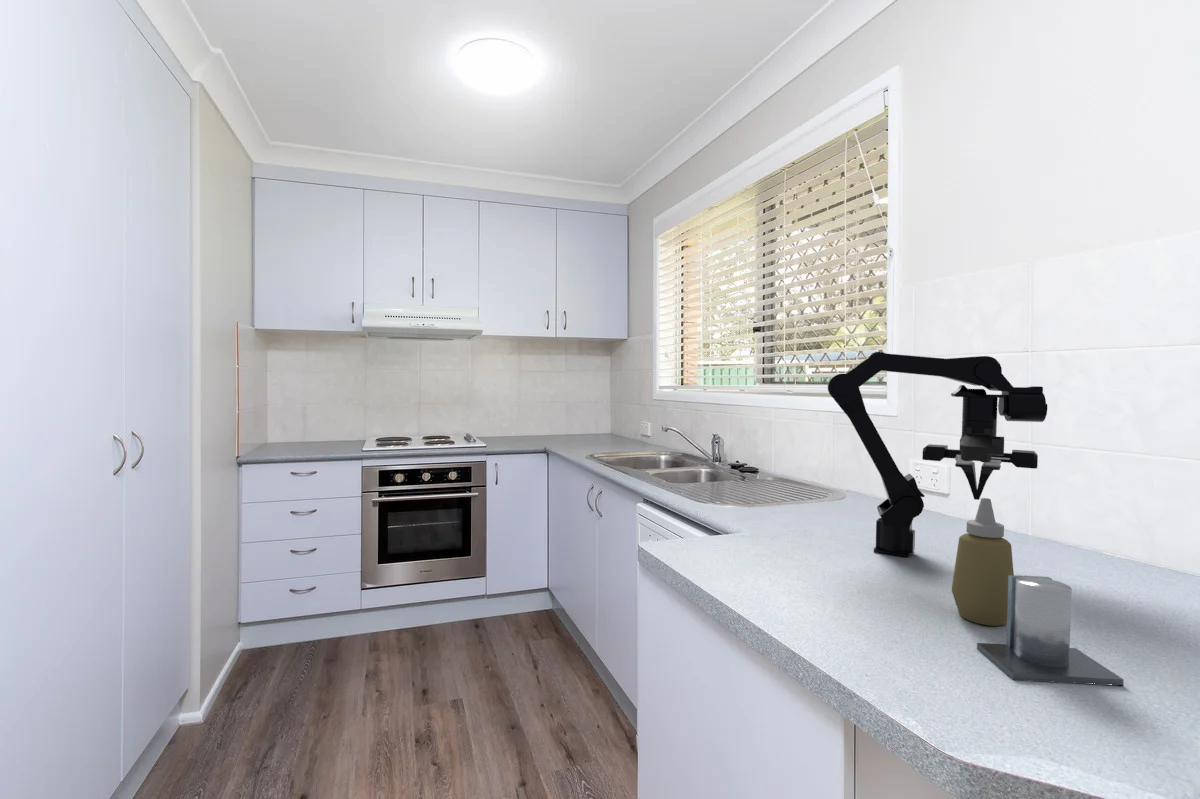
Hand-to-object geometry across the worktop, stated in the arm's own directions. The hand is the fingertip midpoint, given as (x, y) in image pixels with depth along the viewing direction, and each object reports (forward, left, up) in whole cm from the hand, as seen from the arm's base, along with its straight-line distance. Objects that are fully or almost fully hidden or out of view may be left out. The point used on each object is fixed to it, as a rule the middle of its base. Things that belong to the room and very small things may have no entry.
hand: (976, 499), depth 115 cm
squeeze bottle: (+3, -33, -12) cm, 36 cm away
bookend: (+10, -46, -12) cm, 49 cm away
